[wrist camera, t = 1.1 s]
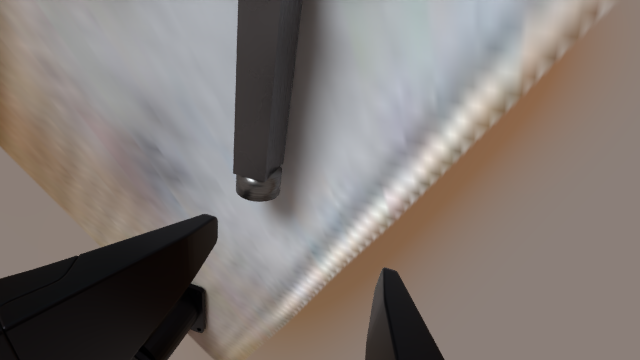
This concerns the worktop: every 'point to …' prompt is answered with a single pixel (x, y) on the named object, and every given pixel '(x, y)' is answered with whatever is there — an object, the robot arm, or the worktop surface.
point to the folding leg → (263, 93)
